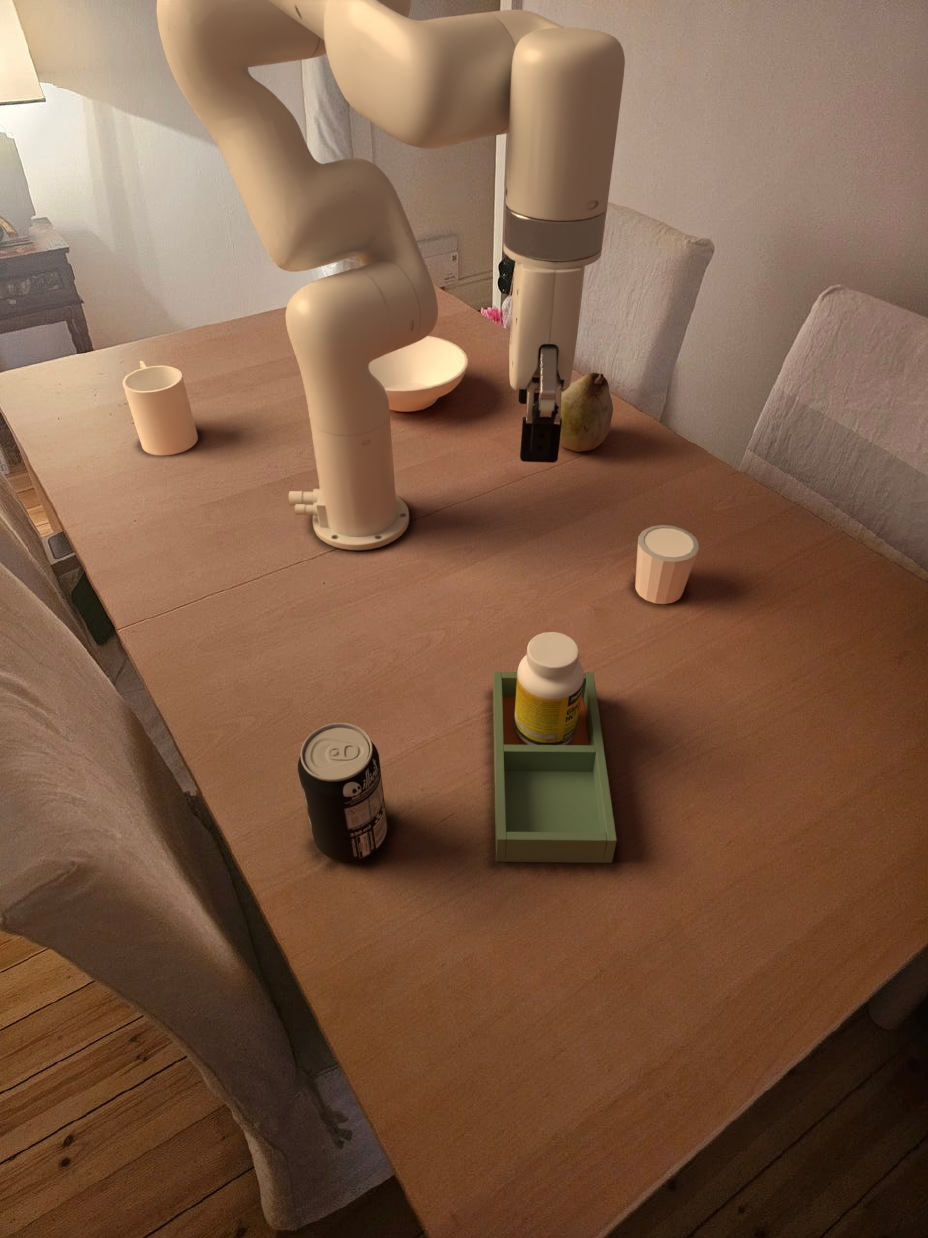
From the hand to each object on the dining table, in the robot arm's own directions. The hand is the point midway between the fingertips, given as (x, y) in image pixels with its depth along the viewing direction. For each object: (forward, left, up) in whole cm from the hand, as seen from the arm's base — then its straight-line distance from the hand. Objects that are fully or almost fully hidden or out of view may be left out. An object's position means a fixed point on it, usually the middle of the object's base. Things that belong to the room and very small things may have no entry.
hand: (536, 430), depth 74 cm
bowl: (-16, +55, -27) cm, 63 cm away
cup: (-52, +44, -27) cm, 73 cm away
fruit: (+10, +42, -27) cm, 51 cm away
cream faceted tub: (+17, +9, -27) cm, 33 cm away
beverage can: (-16, -25, -27) cm, 40 cm away
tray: (+2, -18, -26) cm, 32 cm away
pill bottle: (+2, -13, -26) cm, 29 cm away
